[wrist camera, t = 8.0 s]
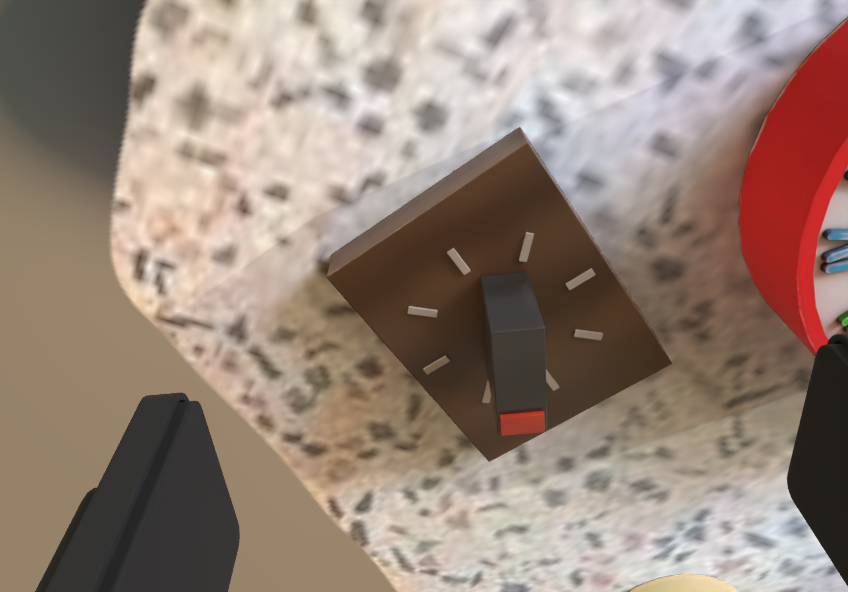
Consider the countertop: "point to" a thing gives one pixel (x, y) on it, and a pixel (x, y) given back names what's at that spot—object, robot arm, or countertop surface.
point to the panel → (462, 302)
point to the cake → (685, 584)
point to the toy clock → (803, 198)
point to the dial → (514, 353)
